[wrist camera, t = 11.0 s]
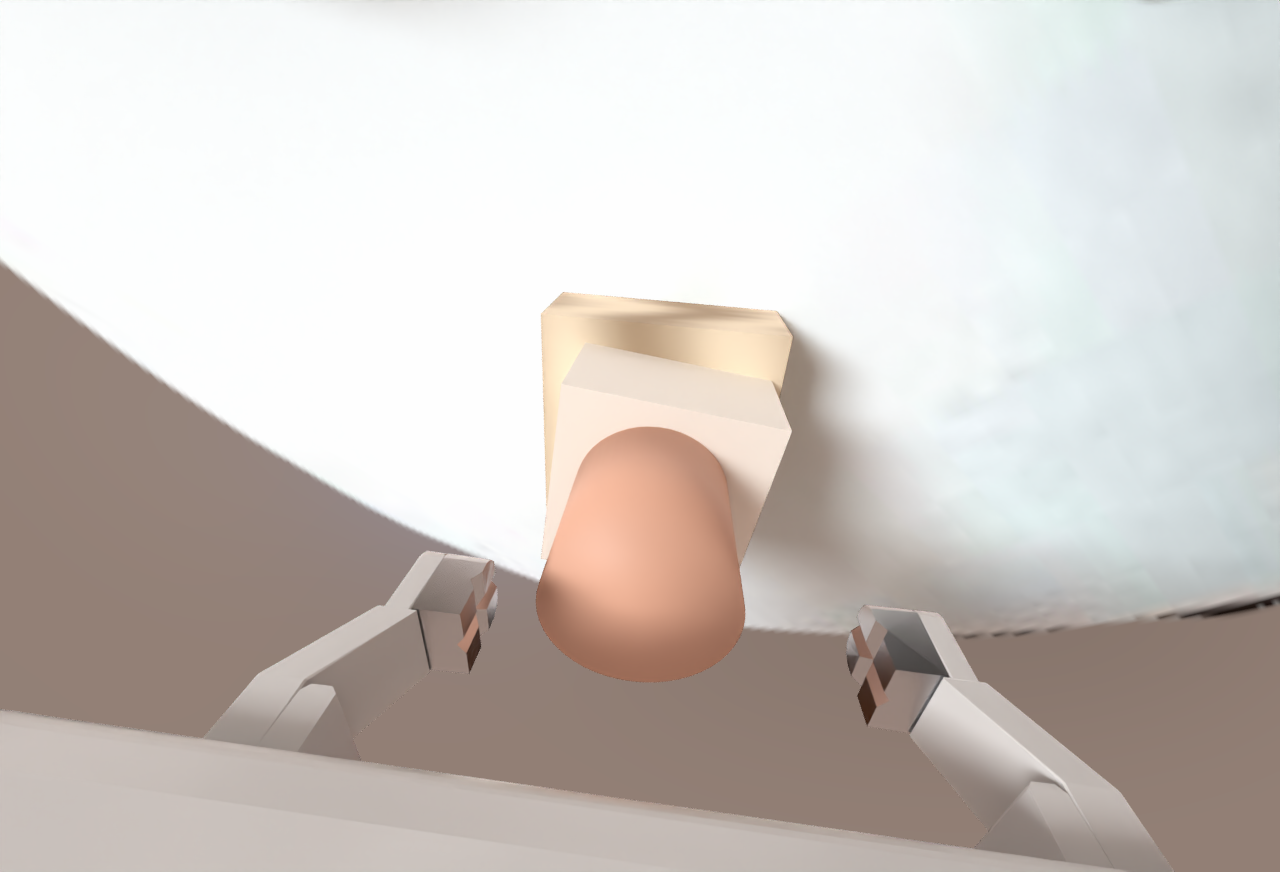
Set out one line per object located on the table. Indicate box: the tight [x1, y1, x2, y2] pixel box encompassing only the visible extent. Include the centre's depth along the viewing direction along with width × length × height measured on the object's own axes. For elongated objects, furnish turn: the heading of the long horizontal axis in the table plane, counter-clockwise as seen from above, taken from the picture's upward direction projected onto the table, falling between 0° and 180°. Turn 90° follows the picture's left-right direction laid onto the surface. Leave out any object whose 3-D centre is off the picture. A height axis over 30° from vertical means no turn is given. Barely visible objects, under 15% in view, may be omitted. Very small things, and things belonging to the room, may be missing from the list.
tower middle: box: [541, 342, 792, 568], centre depth 18 cm, size 7×7×4 cm
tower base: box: [541, 292, 793, 506], centre depth 21 cm, size 9×9×4 cm
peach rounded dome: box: [536, 426, 745, 682], centre depth 14 cm, size 5×5×5 cm
